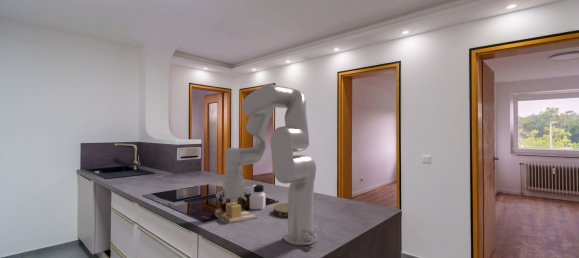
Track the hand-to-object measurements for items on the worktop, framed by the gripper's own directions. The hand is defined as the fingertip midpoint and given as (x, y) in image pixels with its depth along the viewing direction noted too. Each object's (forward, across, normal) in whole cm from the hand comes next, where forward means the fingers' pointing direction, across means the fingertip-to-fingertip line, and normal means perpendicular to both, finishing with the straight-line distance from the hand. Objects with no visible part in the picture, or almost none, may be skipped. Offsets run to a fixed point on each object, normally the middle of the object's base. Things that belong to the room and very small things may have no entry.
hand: (233, 209), depth 131 cm
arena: (+3, 0, +1) cm, 3 cm away
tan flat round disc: (+4, -26, +10) cm, 28 cm away
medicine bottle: (+3, -16, -7) cm, 18 cm away
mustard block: (+2, 0, 0) cm, 3 cm away
